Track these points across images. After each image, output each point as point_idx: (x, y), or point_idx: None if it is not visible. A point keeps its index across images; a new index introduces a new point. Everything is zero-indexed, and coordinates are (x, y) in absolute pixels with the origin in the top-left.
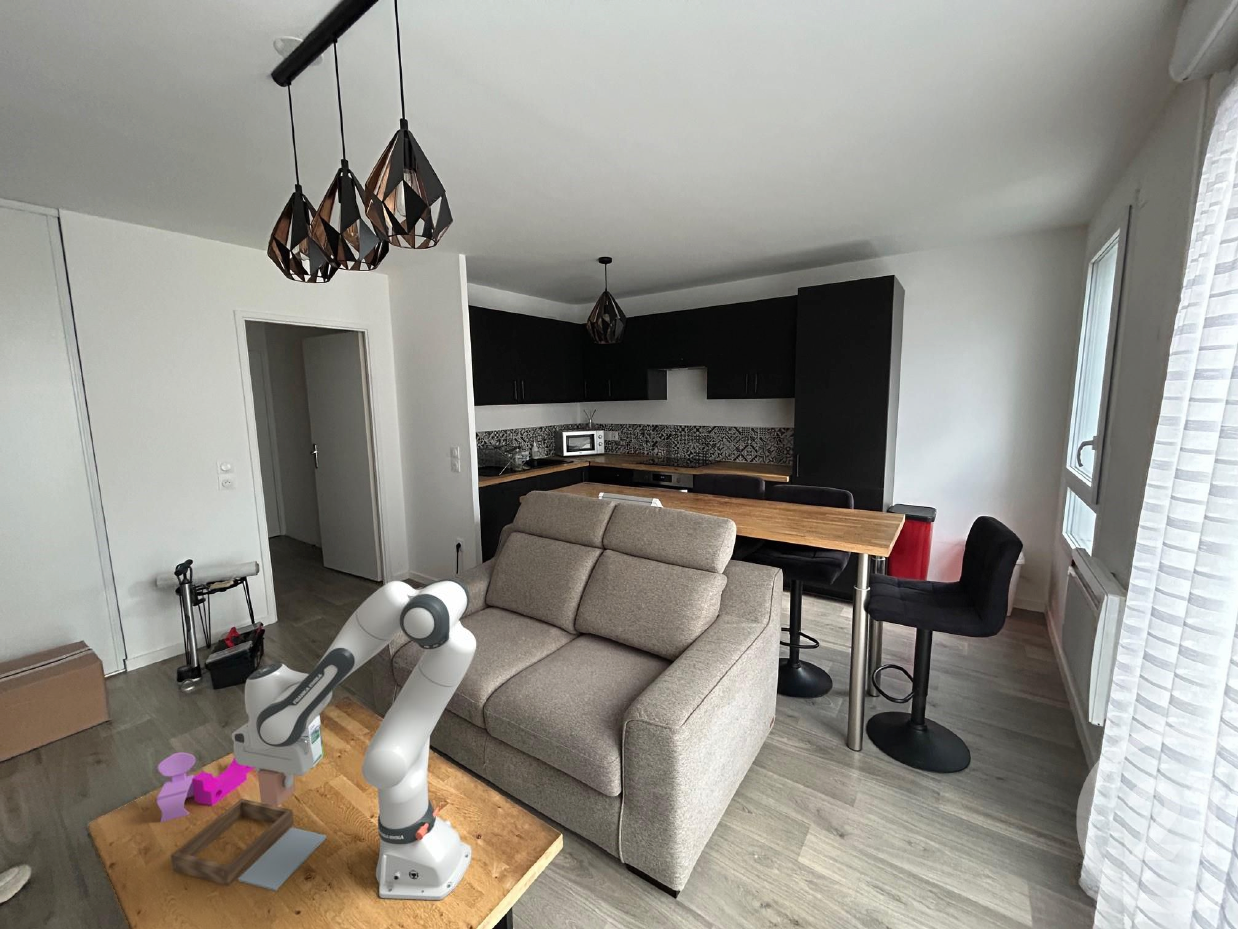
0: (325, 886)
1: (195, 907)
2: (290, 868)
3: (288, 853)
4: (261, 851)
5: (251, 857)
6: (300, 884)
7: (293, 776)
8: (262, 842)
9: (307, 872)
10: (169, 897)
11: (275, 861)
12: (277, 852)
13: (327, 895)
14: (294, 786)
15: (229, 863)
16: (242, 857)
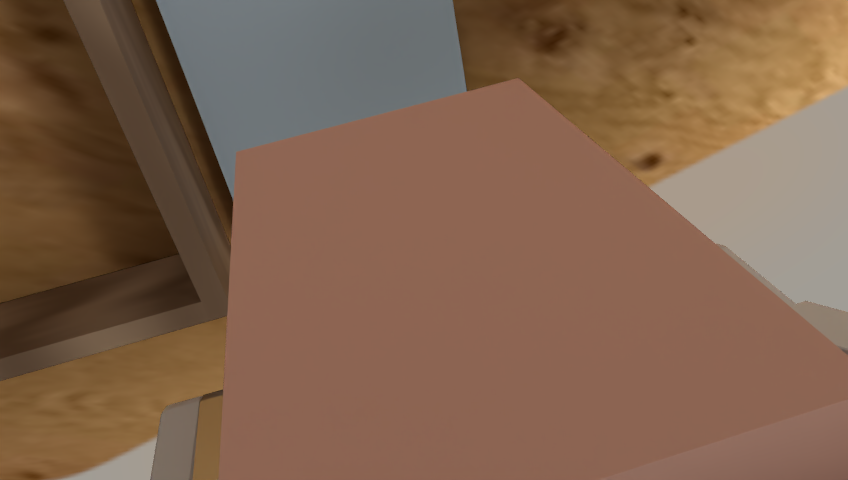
0: (673, 29)
1: (221, 361)
2: (440, 70)
3: (327, 14)
4: (161, 90)
5: (186, 160)
6: (548, 82)
7: (632, 185)
8: (149, 95)
9: (522, 23)
10: (52, 403)
11: (314, 85)
12: (256, 43)
13: (715, 54)
14: (545, 110)
15: (197, 292)
16: (201, 230)
